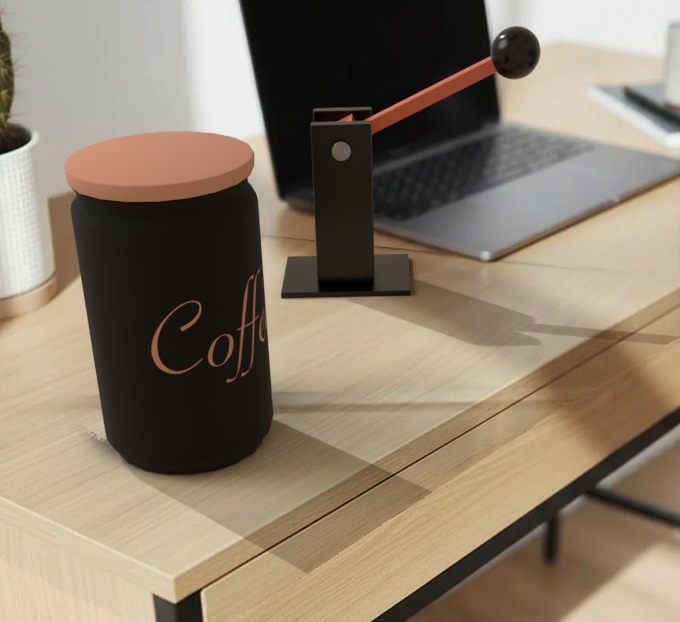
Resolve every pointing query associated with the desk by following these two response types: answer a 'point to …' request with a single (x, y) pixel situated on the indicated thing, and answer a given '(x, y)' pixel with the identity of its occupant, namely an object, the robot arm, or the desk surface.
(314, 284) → the post on base plate
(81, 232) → the coffee jar
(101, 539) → the desk surface
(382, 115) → the lever with ball knob
